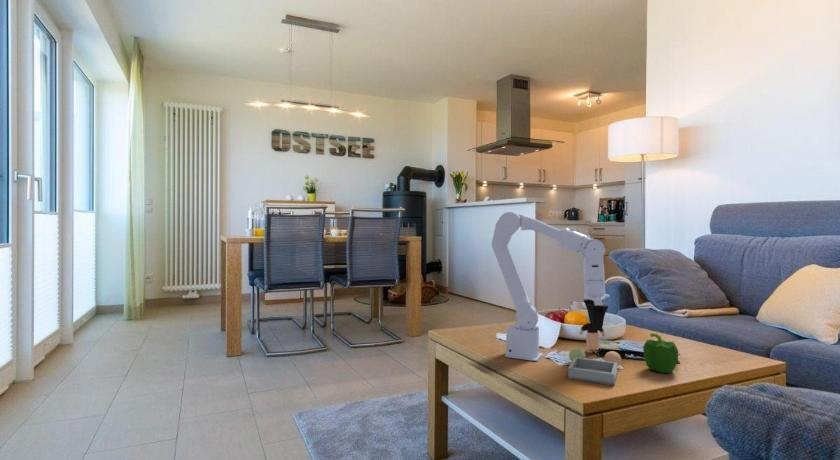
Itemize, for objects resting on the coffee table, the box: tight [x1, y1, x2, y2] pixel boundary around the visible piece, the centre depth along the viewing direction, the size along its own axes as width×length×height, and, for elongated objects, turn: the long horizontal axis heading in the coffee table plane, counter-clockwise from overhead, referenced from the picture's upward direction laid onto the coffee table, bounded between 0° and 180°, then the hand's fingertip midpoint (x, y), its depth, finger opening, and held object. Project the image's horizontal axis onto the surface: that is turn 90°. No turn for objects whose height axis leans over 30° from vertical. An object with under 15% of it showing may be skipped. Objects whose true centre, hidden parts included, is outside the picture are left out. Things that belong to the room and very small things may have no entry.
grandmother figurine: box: [578, 314, 607, 354], centre depth 143 cm, size 8×4×13 cm, turn 84°
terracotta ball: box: [603, 350, 622, 368], centre depth 127 cm, size 4×4×4 cm
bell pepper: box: [642, 332, 679, 374], centre depth 124 cm, size 8×8×10 cm
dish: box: [567, 357, 618, 386], centre depth 119 cm, size 11×11×3 cm
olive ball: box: [568, 347, 586, 362], centre depth 131 cm, size 4×4×4 cm
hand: (596, 326), depth 133 cm, fingers open, 7 cm apart
